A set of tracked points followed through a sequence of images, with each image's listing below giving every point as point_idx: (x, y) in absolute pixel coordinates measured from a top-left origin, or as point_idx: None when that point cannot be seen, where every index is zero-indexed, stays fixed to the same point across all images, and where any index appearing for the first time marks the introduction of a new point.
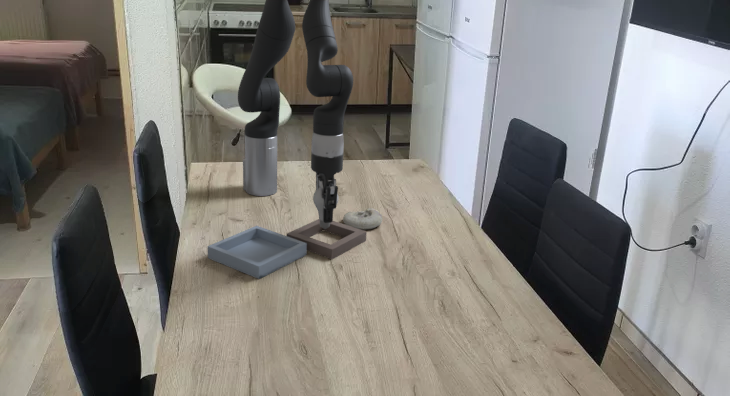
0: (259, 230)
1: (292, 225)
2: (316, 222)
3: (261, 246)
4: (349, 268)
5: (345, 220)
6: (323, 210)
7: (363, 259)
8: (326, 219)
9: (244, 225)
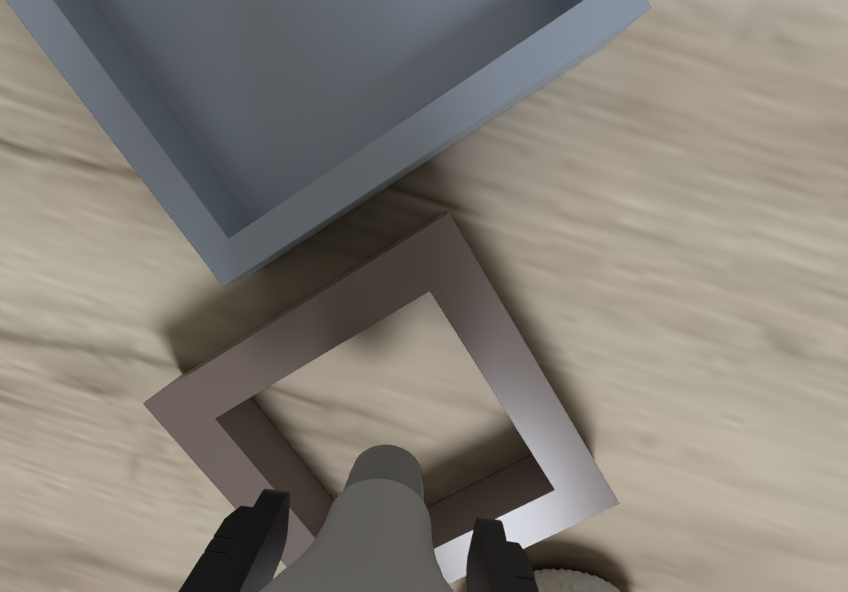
0: (564, 15)
1: (677, 321)
2: (556, 448)
3: (407, 15)
4: (71, 416)
5: (559, 590)
6: (241, 581)
7: (159, 503)
8: (223, 524)
9: (831, 9)
